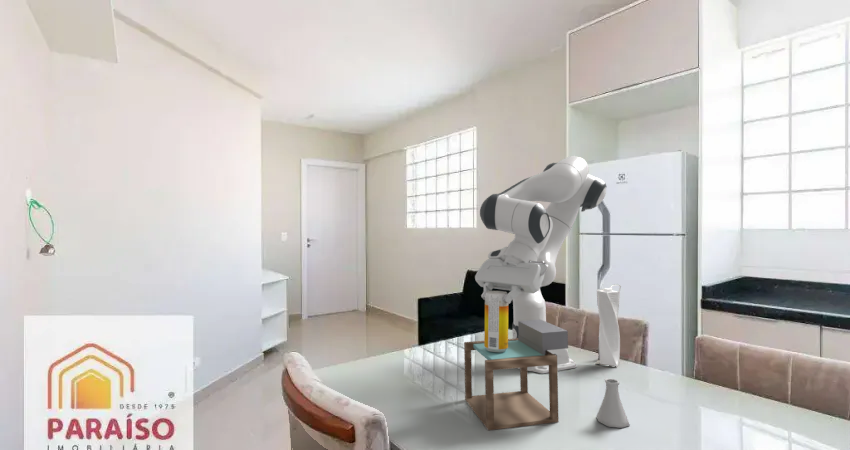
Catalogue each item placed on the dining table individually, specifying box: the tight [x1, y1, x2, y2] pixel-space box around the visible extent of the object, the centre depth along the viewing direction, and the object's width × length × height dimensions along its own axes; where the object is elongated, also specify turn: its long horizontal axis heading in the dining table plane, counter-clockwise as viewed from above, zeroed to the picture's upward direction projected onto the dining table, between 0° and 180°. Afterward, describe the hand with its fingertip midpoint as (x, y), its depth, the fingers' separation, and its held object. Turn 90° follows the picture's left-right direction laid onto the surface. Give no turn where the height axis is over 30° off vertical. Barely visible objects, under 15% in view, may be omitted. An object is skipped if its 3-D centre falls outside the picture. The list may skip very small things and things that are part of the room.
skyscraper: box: [595, 283, 622, 367], centre depth 142 cm, size 8×8×28 cm
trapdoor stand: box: [463, 338, 559, 431], centre depth 107 cm, size 18×18×16 cm
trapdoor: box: [473, 320, 569, 360], centre depth 107 cm, size 20×14×6 cm
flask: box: [596, 378, 631, 429], centre depth 99 cm, size 7×7×10 cm
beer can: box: [483, 290, 509, 352], centre depth 106 cm, size 6×6×15 cm
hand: (494, 300), depth 106 cm, fingers closed on beer can, 6 cm apart
